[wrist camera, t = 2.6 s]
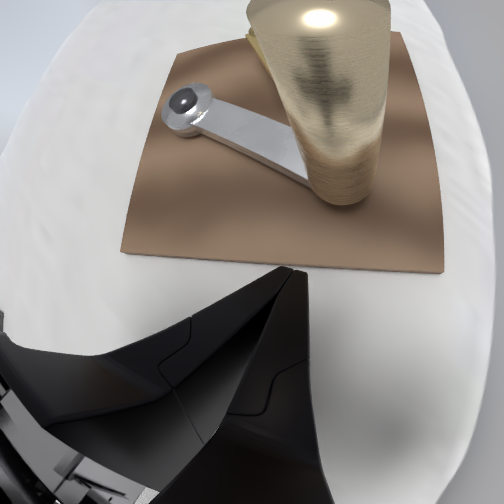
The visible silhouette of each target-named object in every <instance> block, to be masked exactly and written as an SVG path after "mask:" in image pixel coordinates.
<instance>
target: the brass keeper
mask: <svg viewBox="0 0 504 504" xmlns="http://www.w3.org/2000/svg"><path fill="white" fill-rule="evenodd" d="M245 36H246V38H247V40H248V43H249V45H250V46H251V48H252V49H253V51H254V52H255V53H256V55H257V56H258V58H259V60H260V61H261V63H262V64H263V66H264V67H265V69H266V70H267V72H268V73H269V75H270V77H271V78H272V80H273V81H274V79H273V77H272V74H271V72H270V69H269V67H268V64H267V62H266V59H265V57H264V55H263V52H262V50H261V47H260V45H259V43H258V40H257V38H256V36H255V33H254V31H253V29H252V27H251V28H250V29H249V34H246V35H245ZM274 83H275V82H274Z"/></svg>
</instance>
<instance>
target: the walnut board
mask: <svg viewBox="0 0 504 504" xmlns="http://www.w3.org/2000/svg"><path fill="white" fill-rule="evenodd" d="M191 83H203V84H205V85H207V86H208V87H209V88H210V90H211V91H212V93H213V94H214V96H215V97H216V99H218V100H221V101H224V102H227V103H230V104H233V105H236V106H238V107H241V108H244V109H247V110H249V111H252V112H255V113H257V114H260V115H262V116H265V117H267V118H270V119H272V120H275V121H277V122H280V123H282V124H285V125H287V126H289V127H291V125H290V123H289V120H288V117H287V114H286V111H285V109H284V106H283V103H282V100H281V98H280V95H279V92H278V90H277V87H276V85H275V83H274V81H273V80H272V78H271V77H270V75H269V73H268V72H267V70H266V69H265V67H264V66H263V64H262V63H261V61H260V60H259V58H258V56H257V55H256V53H255V52H254V51H253V49H252V48H251V46H250V45H249V43H248V40H247V38H242V39H237V40H232V41H227V42H222V43H218V44H213V45H209V46H205V47H201V48H197V49H193V50H190V51H186V52H183V53H179V54H177V56H176V58H175V61H174V63H173V66H172V68H171V70H170V73H169V75H168V78H167V81H166V83H165V86H164V89H163V91H162V94H161V97H160V99H159V102H158V105H157V108H156V111H155V114H154V117H153V120H152V123H151V126H150V129H149V132H148V136H147V139H146V142H145V146H144V149H143V152H142V156H141V160H140V163H139V167H138V171H137V175H136V178H135V182H134V186H133V191H132V195H131V199H130V204H129V208H128V213H127V218H126V223H125V228H124V233H123V238H122V244H121V250H120V252H123V253H126V254H135V255H148V256H161V257H174V258H187V259H201V260H215V261H229V262H244V263H258V264H274V265H289V266H305V267H321V268H338V269H355V270H373V271H391V272H410V273H430V274H441V273H443V272H444V232H443V215H442V203H441V193H440V185H439V177H438V170H437V163H436V157H435V151H434V146H433V141H432V136H431V131H430V126H429V122H428V117H427V113H426V109H425V105H424V101H423V98H422V94H421V91H420V87H419V84H418V81H417V77H416V74H415V71H414V68H413V65H412V62H411V59H410V56H409V54H408V51H407V48H406V46H405V43H404V40H403V38H402V35H401V33H400V32H393V31H390V57H389V73H388V85H387V96H386V106H385V114H384V123H383V130H382V137H381V144H380V151H379V157H378V163H377V169H376V174H375V180H374V184H373V187H372V189H371V191H370V192H369V194H368V195H367V196H366V197H365V198H363V199H362V200H360V201H359V202H357V203H354V204H351V205H334V204H331V203H328V202H326V201H324V200H322V199H321V198H320V197H318V196H317V195H316V194H315V192H314V191H313V190H312V189H310V188H308V187H306V186H305V185H303V184H301V183H299V182H297V181H296V180H294V179H292V178H290V177H288V176H286V175H284V174H283V173H281V172H279V171H277V170H275V169H273V168H271V167H269V166H267V165H265V164H263V163H262V162H260V161H258V160H256V159H254V158H252V157H250V156H248V155H246V154H244V153H242V152H240V151H237V150H235V149H233V148H231V147H229V146H227V145H225V144H223V143H221V142H219V141H216V140H214V139H212V138H210V137H208V136H206V135H203V134H201V133H200V134H198V135H196V136H192V137H181V136H178V135H177V134H176V133H175V132H174V131H173V130H172V129H171V128H170V127H169V126H168V125H167V124H166V123H165V122H164V121H163V120H162V116H161V112H162V108H163V106H164V104H165V102H166V100H167V99H168V98H169V97H170V96H171V95H172V94H173V93H174V92H175V91H176V90H178V89H179V88H181V87H183V86H185V85H188V84H191Z"/></svg>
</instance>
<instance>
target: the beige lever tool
mask: <svg viewBox="0 0 504 504" xmlns="http://www.w3.org/2000/svg"><path fill="white" fill-rule="evenodd" d="M246 14H247V18H248V20H249V22H250V24H251V27H252V29H253V31H254V33H255V36H256V38H257V40H258V43H259V45H260V47H261V50H262V52H263V55H264V57H265V59H266V62H267V64H268V67H269V69H270V72H271V74H272V77H273V79H274V82H275V85H276V87H277V90H278V92H279V95H280V98H281V100H282V103H283V106H284V109H285V111H286V114H287V117H288V120H289V123H290V125H291V127H289V126H287V125H285V124H282V123H280V122H277V121H275V120H272V119H270V118H267V117H265V116H262V115H260V114H257V113H255V112H252V111H249V110H247V109H244V108H241V107H238V106H236V105H233V104H230V103H227V102H224V101H221V100H218V99H216V97H215V96H214V94H213V93H212V91H211V90H210V88H209V87H208V86H207V85H205V84H203V83H191V84H188V85H185V86H183V87H181V88H179V89H178V90H176V91H175V92H174V93H173V94H172V95H171V96H170V97H169V98H168V99H167V100H166V102H165V104H164V106H163V108H162V112H161V116H162V120H163V121H164V122H165V123H166V124H167V125H168V126H169V127H170V128H171V129H172V130H173V131H174V132H175V133H176V134H177V135H178V136H181V137H192V136H196V135H198V134H200V133H201V134H203V135H206V136H208V137H210V138H212V139H214V140H216V141H219V142H221V143H223V144H225V145H227V146H229V147H231V148H233V149H235V150H237V151H240V152H242V153H244V154H246V155H248V156H250V157H252V158H254V159H256V160H258V161H260V162H262V163H263V164H265V165H267V166H269V167H271V168H273V169H275V170H277V171H279V172H281V173H283V174H284V175H286V176H288V177H290V178H292V179H294V180H296V181H297V182H299V183H301V184H303V185H305V186H306V187H308V188H310V189H312V190H313V191H314V192H315V194H316V195H317V196H318V197H320V198H321V199H322V200H324V201H326V202H328V203H331V204H334V205H351V204H354V203H357V202H359V201H360V200H362V199H363V198H365V197H366V196H367V195H368V194H369V192H370V191H371V189H372V187H373V184H374V180H375V174H376V169H377V163H378V157H379V151H380V144H381V137H382V130H383V123H384V114H385V106H386V96H387V85H388V73H389V57H390V28H391V8H390V3H389V1H388V0H251V1H250V3H249V4H248V7H247V10H246Z"/></svg>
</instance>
